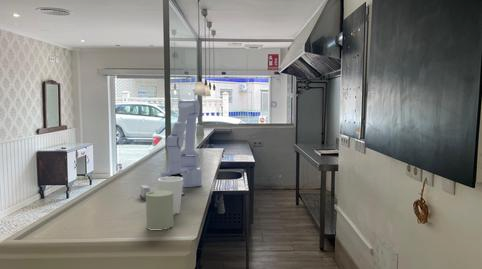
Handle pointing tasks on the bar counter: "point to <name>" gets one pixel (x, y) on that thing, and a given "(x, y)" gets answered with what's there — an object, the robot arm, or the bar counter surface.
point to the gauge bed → (146, 189)
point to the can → (159, 209)
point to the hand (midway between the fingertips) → (175, 190)
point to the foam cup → (172, 189)
